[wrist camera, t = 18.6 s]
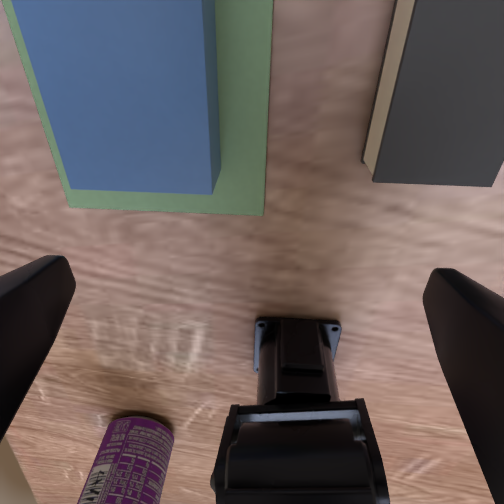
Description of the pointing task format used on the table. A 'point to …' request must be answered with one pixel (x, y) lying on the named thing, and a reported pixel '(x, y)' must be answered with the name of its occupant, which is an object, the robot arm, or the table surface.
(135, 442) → the beverage can
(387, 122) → the black notebook
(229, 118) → the green mat
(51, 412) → the table surface
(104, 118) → the blue book
